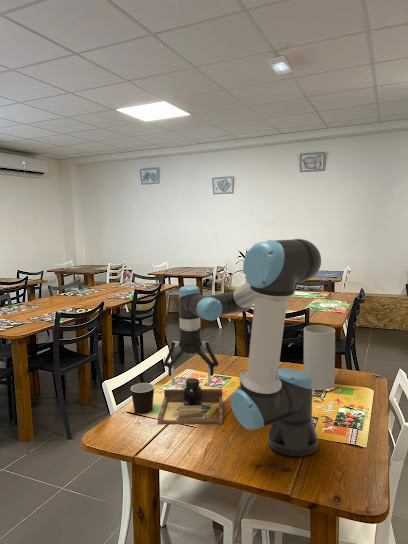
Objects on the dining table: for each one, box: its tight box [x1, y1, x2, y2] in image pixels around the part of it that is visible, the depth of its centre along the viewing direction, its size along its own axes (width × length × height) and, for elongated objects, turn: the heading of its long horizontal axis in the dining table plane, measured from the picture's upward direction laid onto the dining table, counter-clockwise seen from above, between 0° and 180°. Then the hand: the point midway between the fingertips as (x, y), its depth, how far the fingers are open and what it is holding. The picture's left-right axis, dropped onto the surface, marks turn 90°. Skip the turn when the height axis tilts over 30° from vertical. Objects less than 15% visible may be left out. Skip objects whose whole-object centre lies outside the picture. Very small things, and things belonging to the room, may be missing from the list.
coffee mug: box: [130, 382, 155, 416], centre depth 148 cm, size 12×9×10 cm
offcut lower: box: [176, 412, 207, 420], centre depth 140 cm, size 4×10×3 cm, turn 85°
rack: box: [157, 388, 224, 425], centre depth 145 cm, size 18×22×6 cm
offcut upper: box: [178, 404, 203, 418], centre depth 139 cm, size 4×8×3 cm, turn 90°
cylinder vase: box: [303, 324, 336, 390], centre depth 165 cm, size 12×12×25 cm
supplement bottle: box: [183, 377, 203, 406], centre depth 148 cm, size 7×7×12 cm
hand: (191, 383), depth 147 cm, fingers open, 13 cm apart
